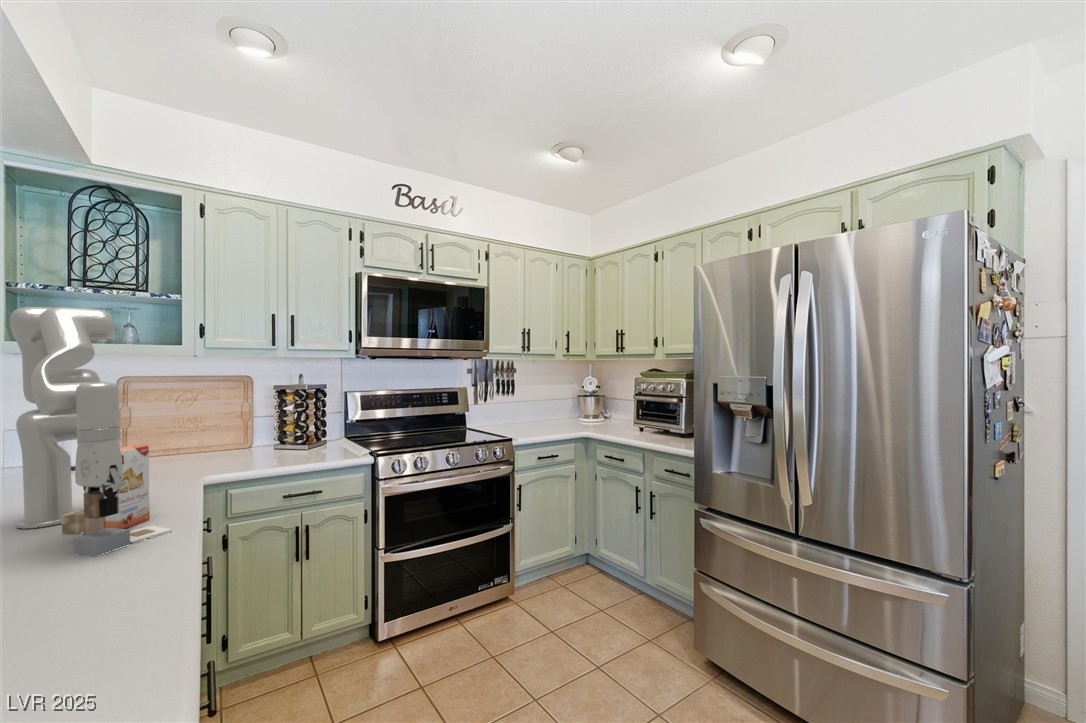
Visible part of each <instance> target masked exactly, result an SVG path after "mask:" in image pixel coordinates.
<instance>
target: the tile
mask: <svg viewBox="0 0 1086 723" xmlns="http://www.w3.org/2000/svg"><path fill="white" fill-rule="evenodd" d="M172 532H173V529H172V528H166V527H160V526H155V525H154V526H152V525H147V526H145V527H141V528H138V529H134V530H130V543H133V542H136V543H138V542H137V541H140V540H143V541H145V540H144V539H146V540H148V539H147V538H149V539H152V538H151V537H153V538H155V536H156V537H159V536H162V535H166V534H168V533H172ZM158 535H159V536H158ZM140 542H141V541H140ZM133 544H134V543H133Z"/></svg>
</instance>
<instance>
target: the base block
mask: <svg viewBox="0 0 1086 723" xmlns="http://www.w3.org/2000/svg"><path fill="white" fill-rule="evenodd" d="M130 531H131V529H130V528H129V529H128V528H126V529H117V528H106V529H102V530H99V531H96V532H92V533H89V534H86V535H85V534H82V535H80V536H76V537H74V538H73V545H74V546H73V548H74V555H75V554H77V556H84V555H92V556H91V557H95V556H98V555H101V554H103V553H106V552H109V551H112V550H114V549H117V548H120V547H123V546H126V545H129V544H130ZM130 545H131V544H130ZM112 552H113V551H112ZM109 553H110V552H109ZM101 556H102V555H101ZM98 557H99V556H98Z"/></svg>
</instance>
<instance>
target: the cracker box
mask: <svg viewBox="0 0 1086 723" xmlns="http://www.w3.org/2000/svg"><path fill="white" fill-rule="evenodd" d="M120 450H121V458H122V470H123V476H122V480H121V482H122V486H121V487H120V489H119V491H118V501H119V513H118V514H114V515H110V516H106V517H102V518H99V519H91V518H84V525H85V532H84V535H86V534H89V533H92V532H96V531H99V530H102V529H106V528H117V529H125V528H126V529H128V528H131V527H133V526H136V525H138V524H141V523H144V522H145V521H146V522H147V521H149V520H150V519H151V518H150V517H151V516H150V515H151V514H150V460H149V459H150V454H149V445H145V444H144V445H143V444H142V445H139V444H138V445H126V446H123V447H121V446H120ZM107 484H111V483H105V484H104V485H107ZM96 488H97V487H96ZM108 488H110V487H106V488H105V489H108ZM84 493H85V490H84V489H83V494H84Z"/></svg>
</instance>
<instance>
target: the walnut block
mask: <svg viewBox="0 0 1086 723" xmlns="http://www.w3.org/2000/svg"><path fill="white" fill-rule="evenodd" d="M106 491H107V489H106ZM82 496H83V510H84V518H91V519H99V518H102V517H100V510H99V500H101V494H100V490H98V491H94V492H89V493H84V492H83V494H82ZM117 511H118V512H117V513H116V514H118V513H119V501H118V496H117ZM113 515H114V514H113ZM109 516H110V515H109ZM105 517H106V516H105Z"/></svg>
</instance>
